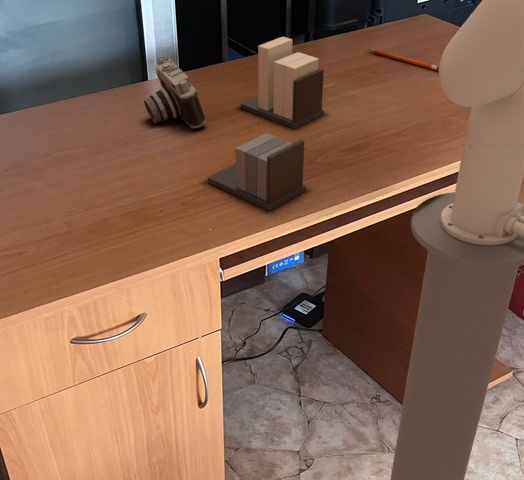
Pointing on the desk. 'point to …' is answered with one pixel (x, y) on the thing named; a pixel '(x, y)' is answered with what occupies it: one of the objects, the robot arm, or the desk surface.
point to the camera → (174, 96)
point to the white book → (270, 68)
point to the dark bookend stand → (293, 92)
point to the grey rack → (264, 172)
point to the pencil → (405, 59)
